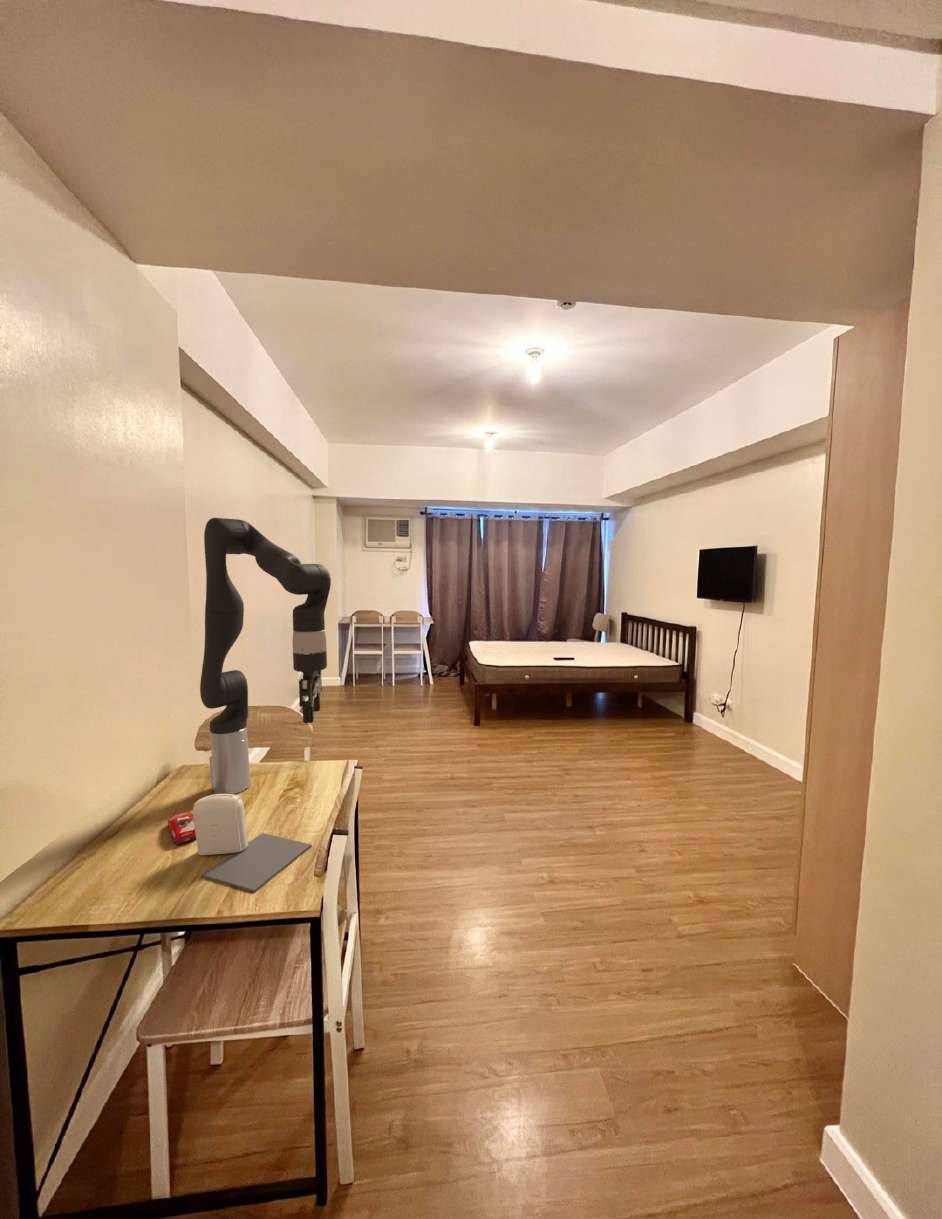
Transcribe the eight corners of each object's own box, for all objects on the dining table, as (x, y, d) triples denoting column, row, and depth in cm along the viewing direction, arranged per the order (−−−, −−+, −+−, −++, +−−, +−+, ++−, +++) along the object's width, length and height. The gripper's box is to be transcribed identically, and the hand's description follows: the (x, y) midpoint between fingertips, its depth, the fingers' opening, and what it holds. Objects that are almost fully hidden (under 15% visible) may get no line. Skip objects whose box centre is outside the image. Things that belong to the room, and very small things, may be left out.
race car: (166, 825, 116) (165, 809, 116) (192, 818, 120) (191, 802, 119) (172, 849, 106) (171, 832, 106) (200, 840, 109) (199, 824, 109)
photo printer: (194, 857, 102) (188, 801, 101) (206, 846, 106) (199, 792, 106) (242, 854, 102) (236, 797, 101) (251, 843, 106) (245, 789, 106)
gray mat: (201, 876, 96) (200, 874, 96) (262, 835, 111) (262, 833, 111) (254, 892, 91) (254, 890, 91) (311, 846, 105) (311, 844, 105)
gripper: (299, 644, 119) (302, 708, 120) (285, 655, 105) (288, 727, 106) (330, 644, 120) (332, 707, 121) (321, 654, 106) (323, 725, 107)
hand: (312, 716), depth 114 cm, fingers open, 8 cm apart
